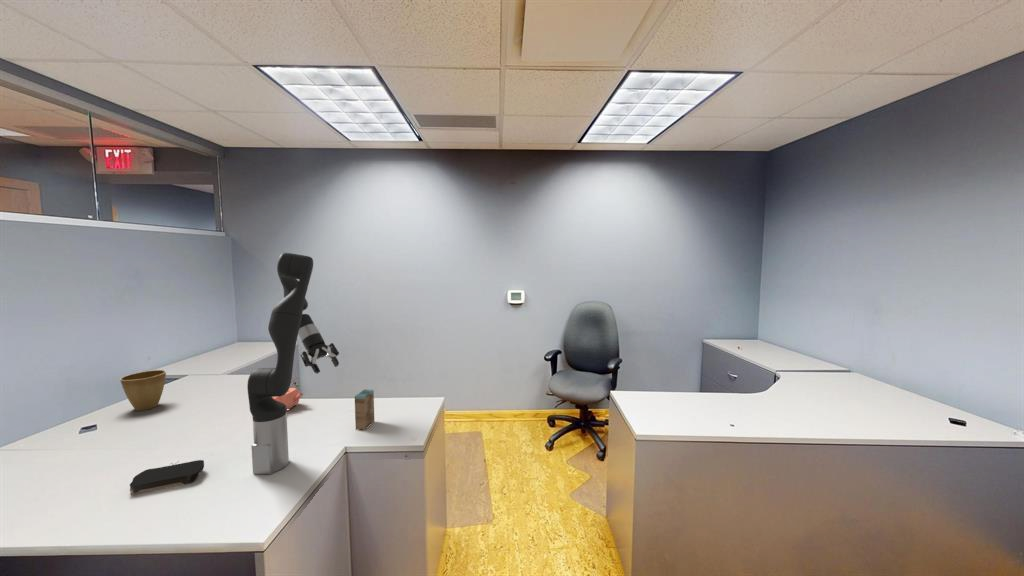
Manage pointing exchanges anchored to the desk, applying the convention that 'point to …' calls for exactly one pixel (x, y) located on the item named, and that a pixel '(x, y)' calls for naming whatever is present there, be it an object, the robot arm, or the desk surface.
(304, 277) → the robot arm
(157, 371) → the plant pot
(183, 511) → the desk surface
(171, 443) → the desk surface
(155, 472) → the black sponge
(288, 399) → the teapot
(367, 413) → the walnut block
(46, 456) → the desk surface
